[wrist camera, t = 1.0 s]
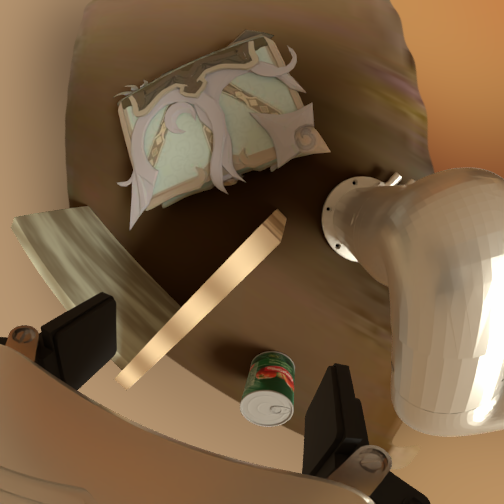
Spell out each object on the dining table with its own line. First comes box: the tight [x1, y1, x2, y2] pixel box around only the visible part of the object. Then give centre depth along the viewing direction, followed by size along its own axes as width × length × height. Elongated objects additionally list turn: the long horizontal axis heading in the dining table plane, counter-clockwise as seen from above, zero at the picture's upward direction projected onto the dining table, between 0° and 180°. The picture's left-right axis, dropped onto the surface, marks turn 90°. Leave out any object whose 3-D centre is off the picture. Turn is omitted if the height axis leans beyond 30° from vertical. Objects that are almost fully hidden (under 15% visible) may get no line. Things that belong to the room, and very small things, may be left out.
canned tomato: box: [240, 351, 295, 427], centre depth 41 cm, size 8×8×11 cm
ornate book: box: [113, 30, 331, 230], centre depth 36 cm, size 23×10×30 cm
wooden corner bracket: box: [11, 206, 287, 390], centre depth 34 cm, size 25×28×20 cm
